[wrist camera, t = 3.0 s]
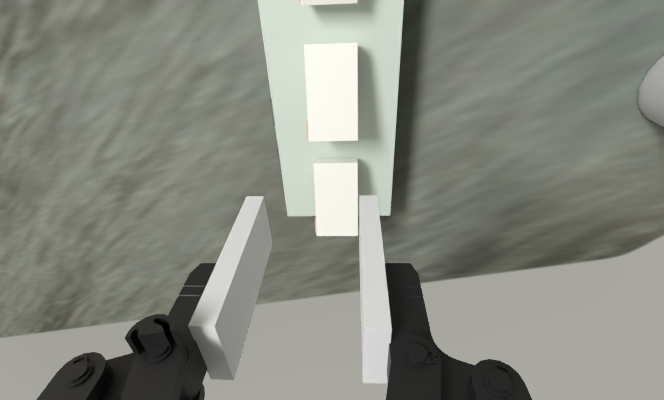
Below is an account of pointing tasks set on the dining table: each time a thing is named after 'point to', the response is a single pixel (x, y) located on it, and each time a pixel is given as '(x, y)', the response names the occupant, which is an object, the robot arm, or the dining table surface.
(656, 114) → the mug
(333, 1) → the block
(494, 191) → the dining table surface
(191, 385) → the robot arm
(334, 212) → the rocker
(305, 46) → the rocker middle
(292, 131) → the switch unit
